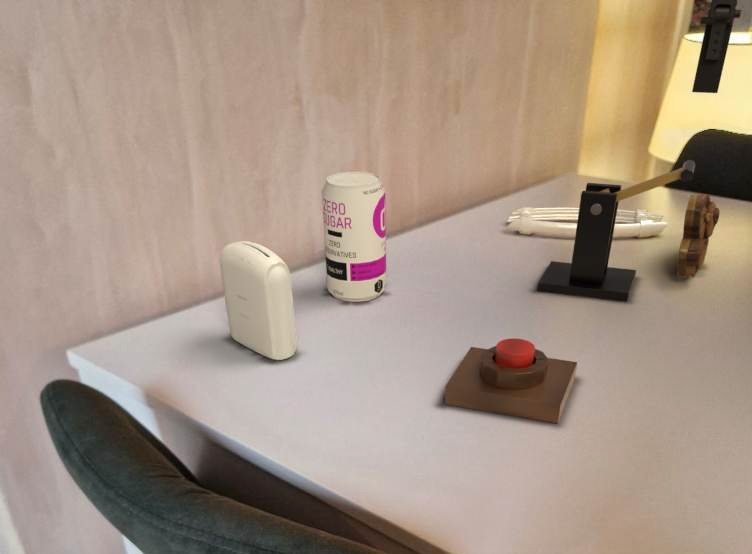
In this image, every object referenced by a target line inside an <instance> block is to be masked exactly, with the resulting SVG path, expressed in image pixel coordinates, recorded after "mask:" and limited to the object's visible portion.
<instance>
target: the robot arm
mask: <svg viewBox="0 0 752 554" xmlns="http://www.w3.org/2000/svg"><path fill="white" fill-rule="evenodd" d="M737 5H738V0H711V5H710V8H709V9H708V12H707V16H701V18H700V22H699V25H705V27H704V33H703V37H702V42H701V47H700V53H699V57H698V61H697V65H696V66H697V67H696V70H695V77H694V80H693V85H692V89H691V90H692V91H691V93H702V94H703V93H705V94H718V92H719V87H720V83H721V80H722V79H721V78H722V75H723V70H724V65H725V61H726V56H727V52H728V48H729V43H730V39H731V35H732V30H733V25H734V21H735V19H740V18H741V14H742V9H737V8H736V7H737Z"/></svg>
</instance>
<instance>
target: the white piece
mask: <svg viewBox="0 0 752 554" xmlns="http://www.w3.org/2000/svg"><path fill="white" fill-rule="evenodd" d="M578 214H579V207H532V206H522V207H521V208H518V209H515V210H514V211H512V212H511V213H510V214H509V216H508V219H507V223H509V224H508V225H507V227H506V229H507V231H514V232H518V233H519V235H527V236H531V234H539V235H550V236H562V237H563V236H565V237H575V235H576V228H577V222H576V223H575V222H574V223H573V222H557V221H578ZM663 218H664V214H663V213H654V212H649V210H648V209H639V208H636V209H635V210H627V209H617V215H616V221H615V226H614V232H613V238H623V237H625V238H626V237H627V238H628V237H637V238H638V239H639V238H641V239H642V238H650V236H657V235H659V234H661V233H663V232H664V230H665V229H666V228H667V226H668V222H667V221H663Z"/></svg>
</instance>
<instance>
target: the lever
mask: <svg viewBox="0 0 752 554" xmlns="http://www.w3.org/2000/svg"><path fill="white" fill-rule="evenodd" d="M695 170H696V163H695V161H694V160H693V159H687V160H686V161H684V162H683V164H682V167H680V168H677V169H675V170H672V171H670V172H666V173H664V174H661V175H658V176H656V177H653V178H651V179H648V180H645V181H641V182H639V183H637V184H634V185H631V186H629V187H626V188H623V189H621V190H620V191H618V192H615V193H617V200H616V202H618V201H619V202H620V201H623V200H626V199H629V198H632V197H634V196H636V195H637V196H638V195H640V194H642V193H645V192H648V191H651V190H653V189H656V188H659V187H661V186H664V185H668V184H670V183H672V182H675V181H678V180H681V181H682V182H685V183H689V182H690V181H691V180H692V179H693V177H694V173H695ZM600 192H607V193H610V191H609V188H608V189H605V190H602V191H600Z"/></svg>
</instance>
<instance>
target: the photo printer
mask: <svg viewBox="0 0 752 554" xmlns="http://www.w3.org/2000/svg"><path fill="white" fill-rule="evenodd" d="M219 267H220V273H221V281H222V287H223V295H224V301H225V307H226V314H227V320H228V326H229V332H230V336H231V338H232V339H233V340H234V341H236V342H237V343H239V344H241V345H243V346H244V347H246V348H248V349H250V350H252V351H254V352H256V353H258V354H259V355H261V356H264V357H266V358H268V359H270V360H275V361H282V360H287V359H289V358H291V357H293V356H294V355H295V352H296V351H298V341H297V330H296V320H295V312H294V311H295V310H294V309H295V308H294V299H293V289H292V280H291V272H290V269H289V266H288V265H287V264H286V262H285V261H284V260H283V259H282V258H281V257H280V256H278V255H277V254H276V253H275V252H273V251H272V250H271V249H269V248H267V247H266V246H263V245H261V244H259V243H256V242H252V241H248V240H241V241H236V242H233V243H228V244H227V245H225V246H224V247H223V249H222V251H221V252H220V256H219Z"/></svg>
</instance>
